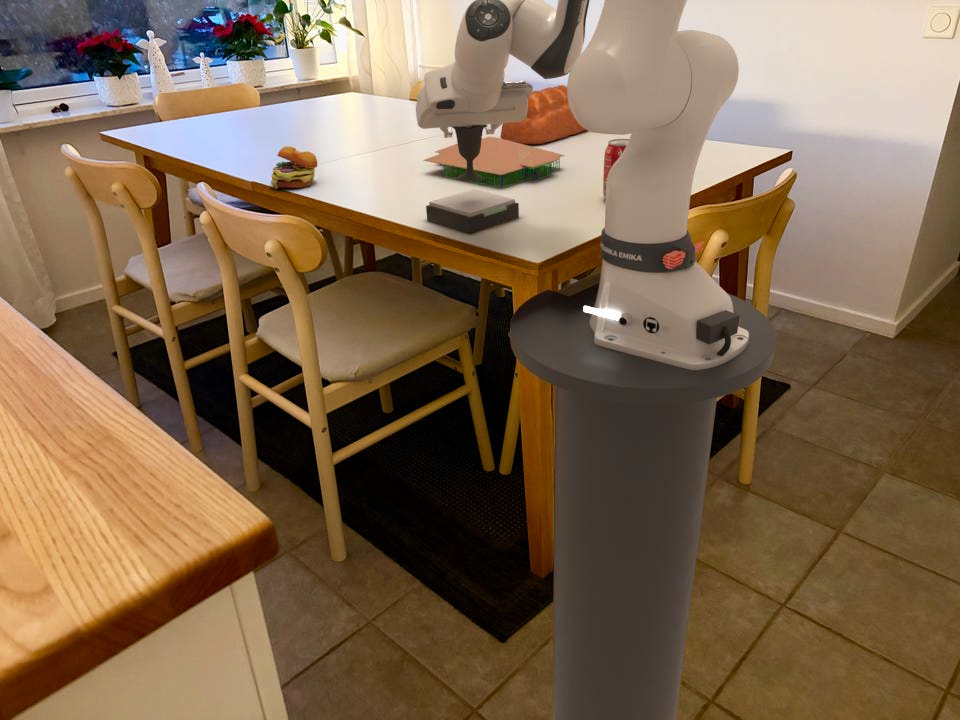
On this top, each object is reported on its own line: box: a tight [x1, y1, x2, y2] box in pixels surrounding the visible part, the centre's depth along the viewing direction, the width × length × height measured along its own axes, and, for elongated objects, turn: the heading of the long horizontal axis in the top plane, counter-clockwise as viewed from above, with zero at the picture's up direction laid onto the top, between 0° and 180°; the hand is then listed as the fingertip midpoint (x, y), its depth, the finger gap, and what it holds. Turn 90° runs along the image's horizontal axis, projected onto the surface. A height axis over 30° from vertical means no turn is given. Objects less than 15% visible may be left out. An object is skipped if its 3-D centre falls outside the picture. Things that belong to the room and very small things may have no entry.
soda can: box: [602, 138, 630, 200], centre depth 152 cm, size 7×7×12 cm
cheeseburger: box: [270, 145, 318, 190], centre depth 176 cm, size 10×11×10 cm
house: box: [423, 136, 565, 189], centre depth 180 cm, size 23×33×8 cm
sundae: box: [452, 124, 487, 182], centre depth 140 cm, size 7×7×15 cm
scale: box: [425, 188, 520, 234], centre depth 146 cm, size 13×13×4 cm
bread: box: [499, 84, 587, 145], centre depth 215 cm, size 16×31×13 cm, turn 140°
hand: (468, 133), depth 140 cm, fingers closed on sundae, 7 cm apart
